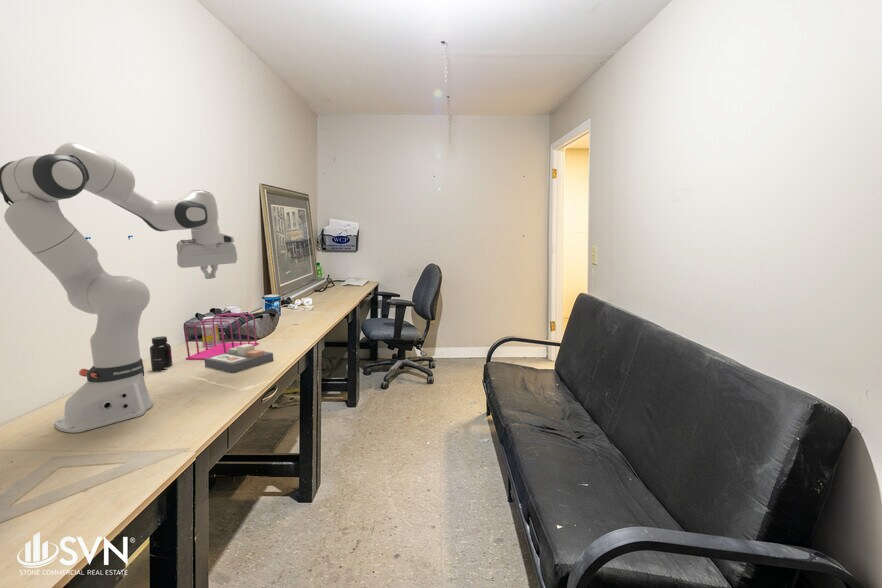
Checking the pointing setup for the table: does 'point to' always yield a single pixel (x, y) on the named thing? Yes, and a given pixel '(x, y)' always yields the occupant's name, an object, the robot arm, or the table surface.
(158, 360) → the supplement bottle
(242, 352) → the block
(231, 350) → the key sage
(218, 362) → the keypad base
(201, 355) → the file sorter
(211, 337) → the supplement bottle
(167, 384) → the table surface
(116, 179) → the robot arm
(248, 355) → the key terracotta
